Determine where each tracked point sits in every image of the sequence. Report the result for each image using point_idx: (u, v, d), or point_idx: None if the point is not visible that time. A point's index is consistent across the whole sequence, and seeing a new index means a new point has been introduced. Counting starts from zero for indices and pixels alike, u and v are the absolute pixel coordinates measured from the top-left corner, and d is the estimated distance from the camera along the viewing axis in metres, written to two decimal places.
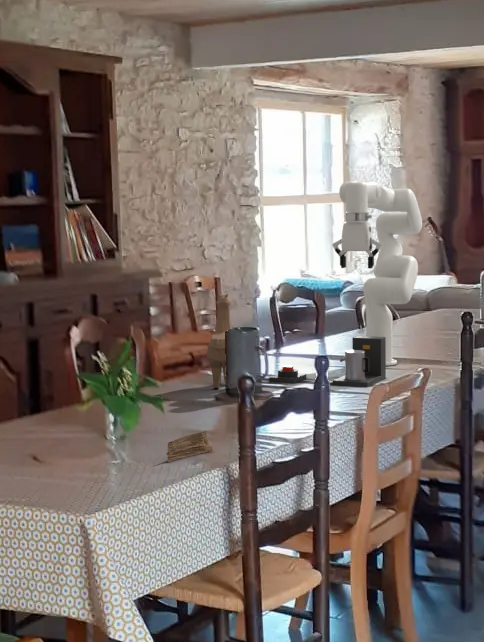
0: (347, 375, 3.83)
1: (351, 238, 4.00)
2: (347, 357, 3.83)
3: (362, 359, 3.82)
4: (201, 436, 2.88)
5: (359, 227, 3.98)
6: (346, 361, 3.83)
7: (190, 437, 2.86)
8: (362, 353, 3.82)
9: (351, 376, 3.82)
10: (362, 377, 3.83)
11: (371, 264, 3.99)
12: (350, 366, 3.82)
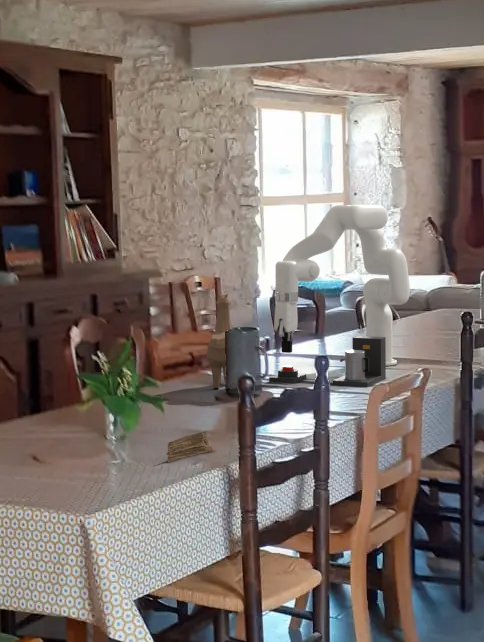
0: (347, 375, 3.83)
1: (291, 319, 3.89)
2: (347, 357, 3.83)
3: (362, 359, 3.82)
4: (201, 436, 2.88)
5: (295, 306, 3.92)
6: (346, 361, 3.83)
7: (190, 437, 2.86)
8: (362, 353, 3.82)
9: (351, 376, 3.82)
10: (362, 377, 3.83)
11: None
12: (350, 366, 3.82)
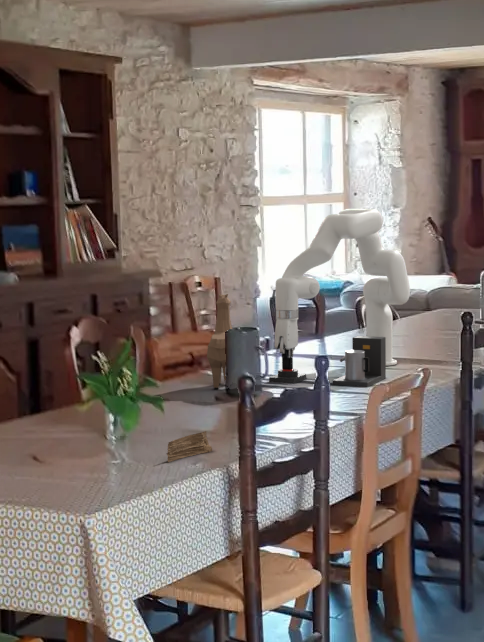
0: (347, 375, 3.83)
1: (292, 336, 3.90)
2: (347, 357, 3.83)
3: (362, 359, 3.82)
4: (201, 436, 2.88)
5: (295, 323, 3.92)
6: (346, 361, 3.83)
7: (190, 437, 2.86)
8: (362, 353, 3.82)
9: (351, 376, 3.82)
10: (362, 377, 3.83)
11: None
12: (350, 366, 3.82)
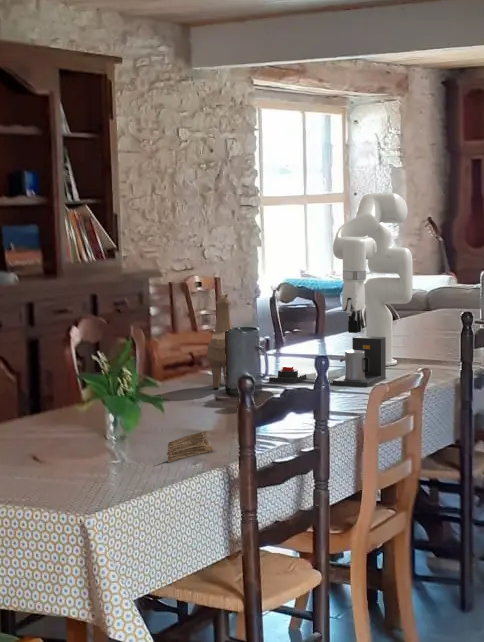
0: (347, 375, 3.83)
1: (359, 297, 3.80)
2: (347, 357, 3.83)
3: (362, 359, 3.82)
4: (201, 436, 2.88)
5: (363, 285, 3.83)
6: (346, 361, 3.83)
7: (190, 437, 2.86)
8: (362, 353, 3.82)
9: (351, 376, 3.82)
10: (362, 377, 3.83)
11: None
12: (350, 366, 3.82)
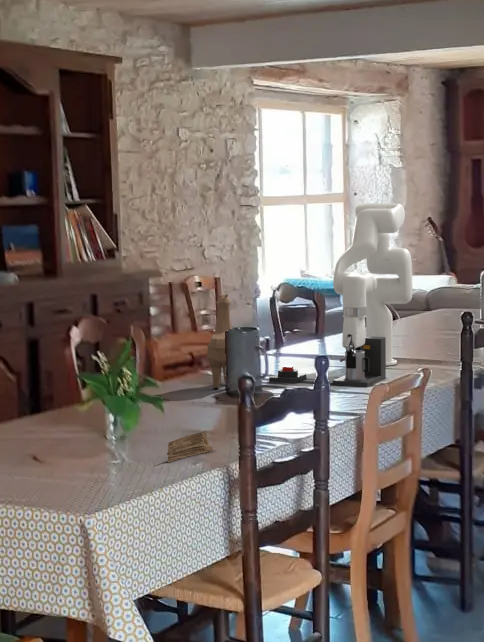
0: (347, 375, 3.83)
1: (359, 334, 3.81)
2: None
3: (362, 359, 3.82)
4: (201, 436, 2.88)
5: (363, 321, 3.84)
6: None
7: (190, 437, 2.86)
8: (362, 353, 3.82)
9: (351, 376, 3.82)
10: (362, 377, 3.83)
11: None
12: None
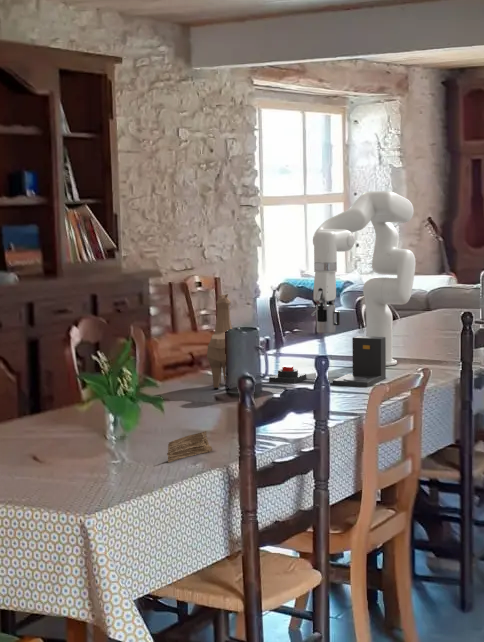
0: (318, 328, 3.94)
1: (330, 288, 3.92)
2: None
3: (333, 313, 3.93)
4: (201, 436, 2.88)
5: (334, 276, 3.95)
6: None
7: (190, 437, 2.86)
8: (333, 307, 3.93)
9: (322, 330, 3.93)
10: (333, 330, 3.94)
11: None
12: None
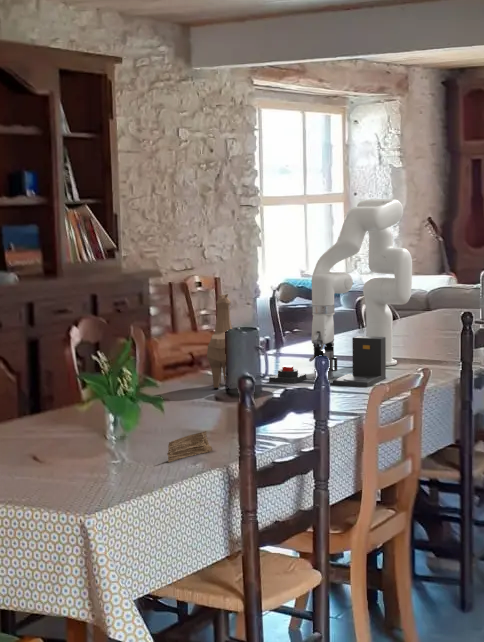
0: None
1: (328, 331, 3.95)
2: None
3: (330, 359, 3.96)
4: (202, 436, 2.88)
5: (332, 318, 3.97)
6: None
7: (190, 437, 2.86)
8: (330, 353, 3.95)
9: None
10: (330, 376, 3.96)
11: None
12: None
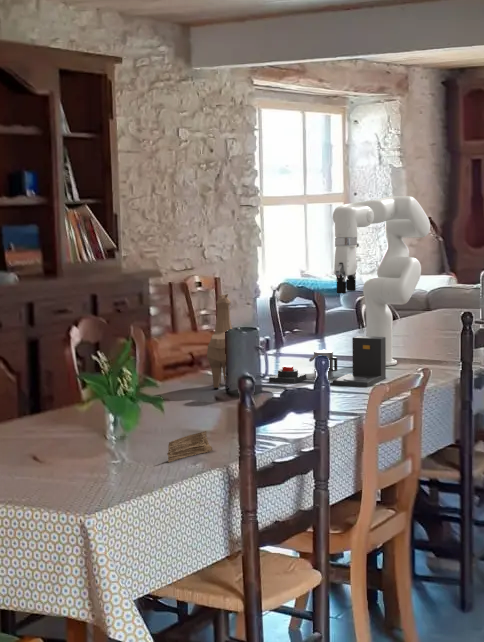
0: None
1: (351, 262, 4.02)
2: None
3: (330, 359, 3.96)
4: (202, 436, 2.88)
5: (354, 251, 4.04)
6: None
7: (190, 437, 2.86)
8: (330, 353, 3.95)
9: None
10: (330, 376, 3.96)
11: None
12: None
